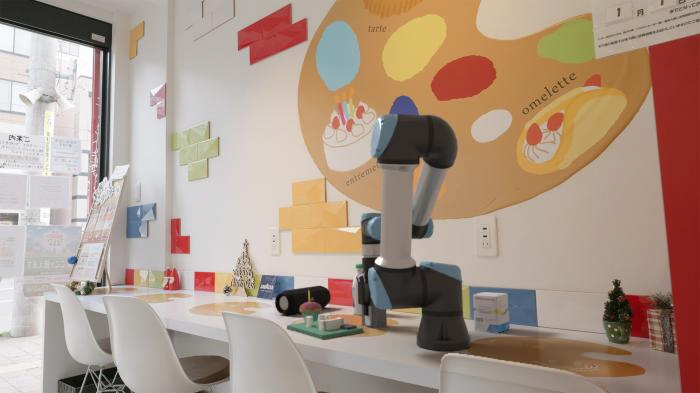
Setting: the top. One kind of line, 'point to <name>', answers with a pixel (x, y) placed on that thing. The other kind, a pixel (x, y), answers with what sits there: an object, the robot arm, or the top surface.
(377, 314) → the block
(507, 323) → the ink box
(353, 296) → the milk bottle
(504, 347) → the top surface
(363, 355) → the top surface
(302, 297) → the portable speaker
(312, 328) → the board
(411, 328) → the top surface
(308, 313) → the cupcake
